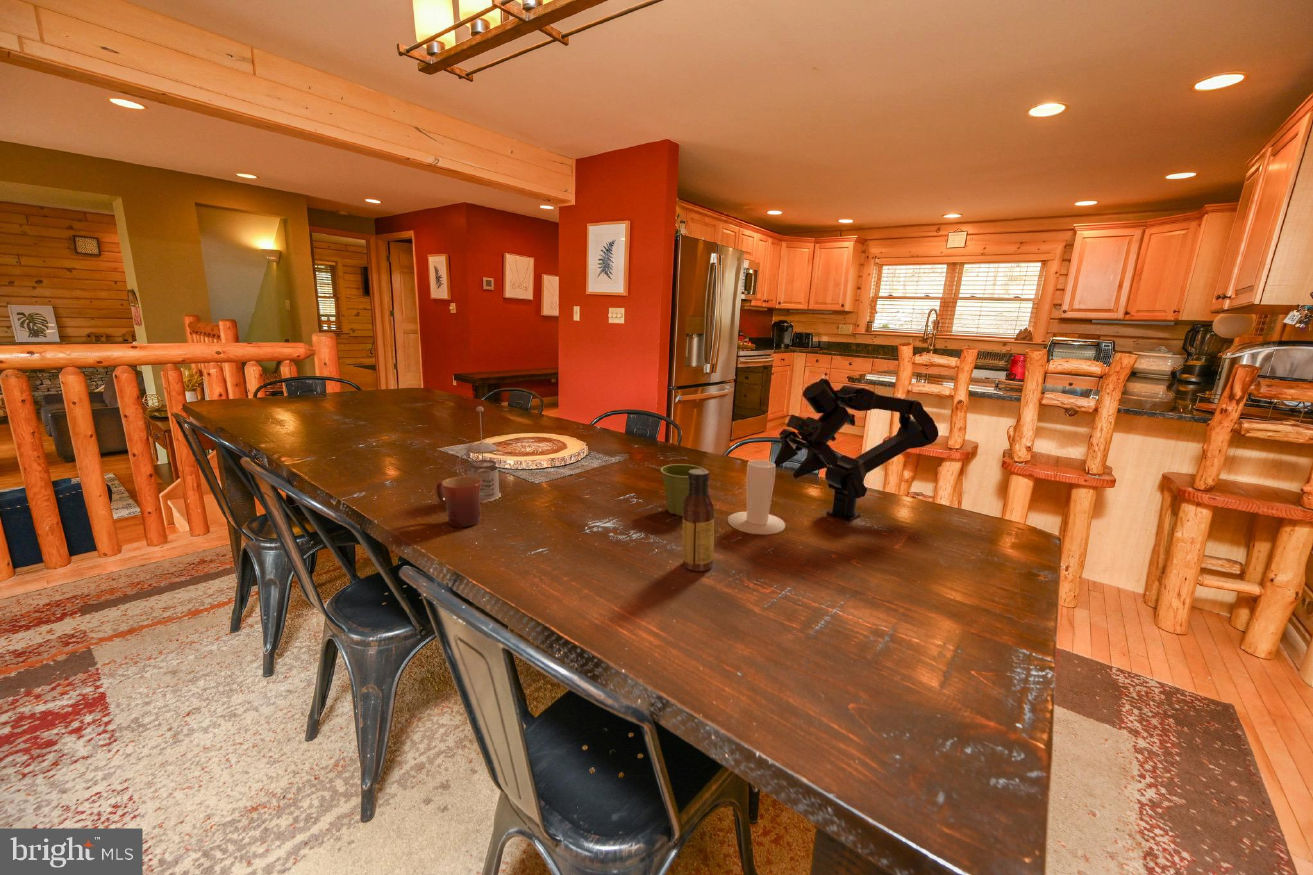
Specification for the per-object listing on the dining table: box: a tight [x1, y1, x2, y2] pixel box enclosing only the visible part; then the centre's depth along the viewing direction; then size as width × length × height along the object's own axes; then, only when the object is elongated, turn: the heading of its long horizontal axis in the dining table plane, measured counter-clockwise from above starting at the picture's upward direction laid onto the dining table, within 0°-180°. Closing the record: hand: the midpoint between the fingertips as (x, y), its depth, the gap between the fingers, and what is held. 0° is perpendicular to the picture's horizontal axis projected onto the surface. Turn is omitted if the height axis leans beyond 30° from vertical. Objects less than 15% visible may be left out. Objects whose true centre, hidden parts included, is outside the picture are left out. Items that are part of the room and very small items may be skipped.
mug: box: [435, 475, 483, 529], centre depth 117 cm, size 12×9×10 cm
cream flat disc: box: [727, 510, 786, 536], centre depth 124 cm, size 14×14×1 cm
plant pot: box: [660, 463, 707, 517], centre depth 128 cm, size 12×12×11 cm
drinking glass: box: [745, 459, 777, 525], centre depth 122 cm, size 7×7×15 cm
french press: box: [455, 406, 502, 502], centre depth 132 cm, size 10×12×25 cm
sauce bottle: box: [681, 468, 715, 572], centre depth 98 cm, size 7×6×20 cm
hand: (783, 471), depth 122 cm, fingers open, 9 cm apart
